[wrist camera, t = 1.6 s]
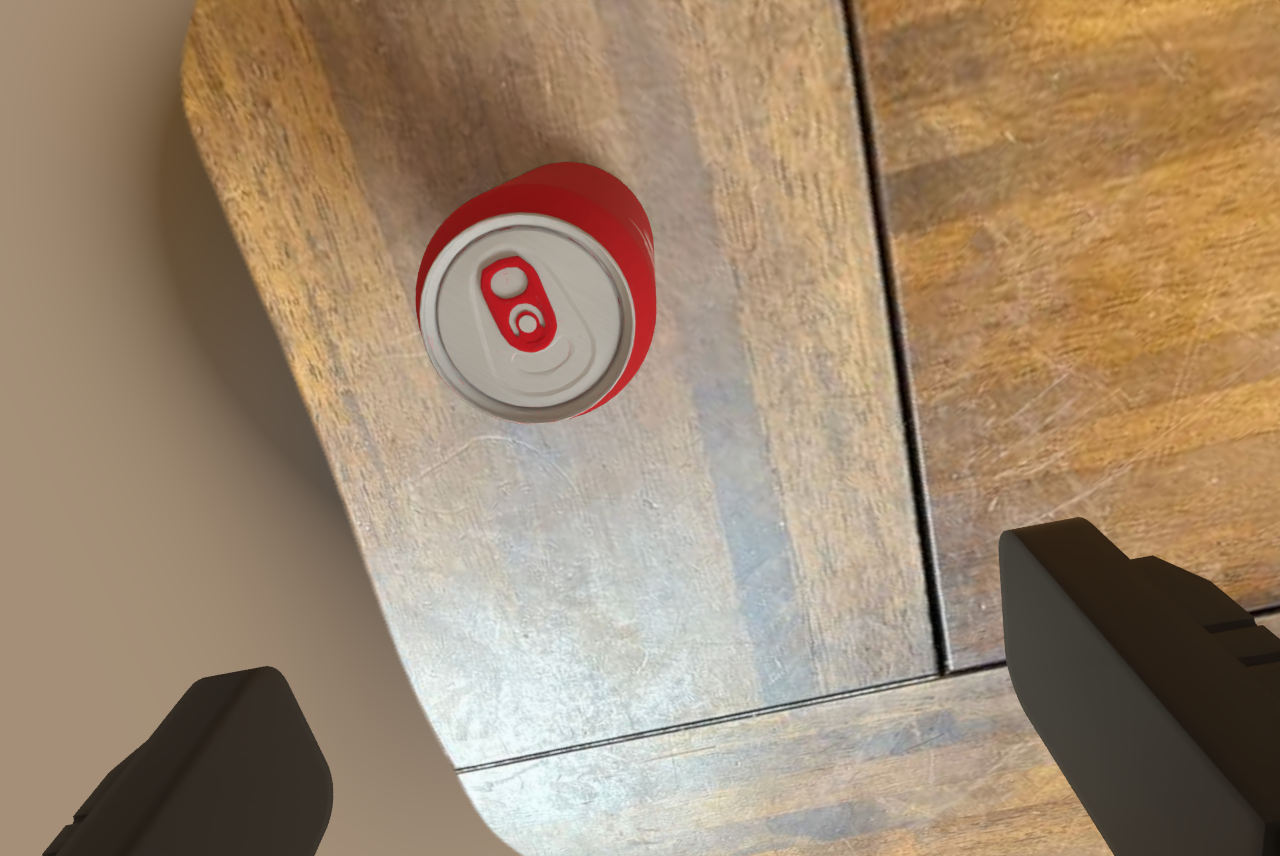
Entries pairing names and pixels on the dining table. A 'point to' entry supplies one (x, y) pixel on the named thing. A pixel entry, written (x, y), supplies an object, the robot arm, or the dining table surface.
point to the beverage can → (540, 294)
